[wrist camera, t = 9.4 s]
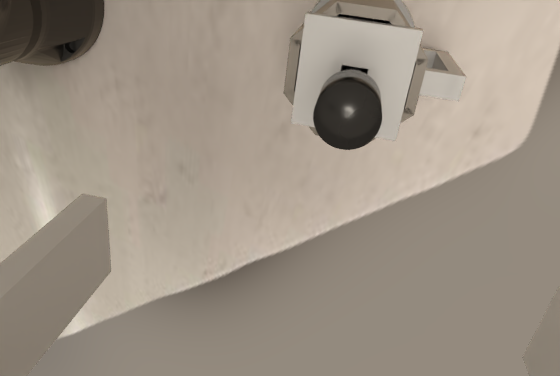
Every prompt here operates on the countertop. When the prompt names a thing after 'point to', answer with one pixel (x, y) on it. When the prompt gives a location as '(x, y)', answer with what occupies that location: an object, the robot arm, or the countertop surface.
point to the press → (367, 60)
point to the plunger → (349, 106)
